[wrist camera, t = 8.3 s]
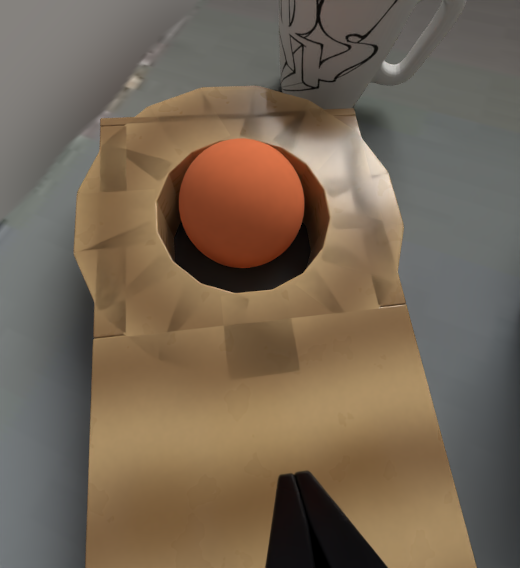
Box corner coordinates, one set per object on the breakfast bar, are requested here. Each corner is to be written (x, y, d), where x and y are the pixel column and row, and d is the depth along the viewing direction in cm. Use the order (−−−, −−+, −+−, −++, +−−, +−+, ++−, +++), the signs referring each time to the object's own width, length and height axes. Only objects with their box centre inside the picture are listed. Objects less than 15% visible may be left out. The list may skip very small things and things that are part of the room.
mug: (400, 64, 26) (493, -113, 17) (408, 143, 24) (522, -13, 14) (270, 48, 26) (289, -145, 16) (263, 127, 23) (281, -47, 14)
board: (456, 612, 15) (543, 705, 11) (102, 692, 13) (38, 839, 9) (340, 135, 24) (363, 81, 19) (112, 146, 22) (82, 90, 18)
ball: (304, 100, 14) (277, 152, 21) (148, 129, 13) (175, 173, 20) (334, 252, 14) (299, 253, 21) (189, 287, 14) (201, 276, 21)
